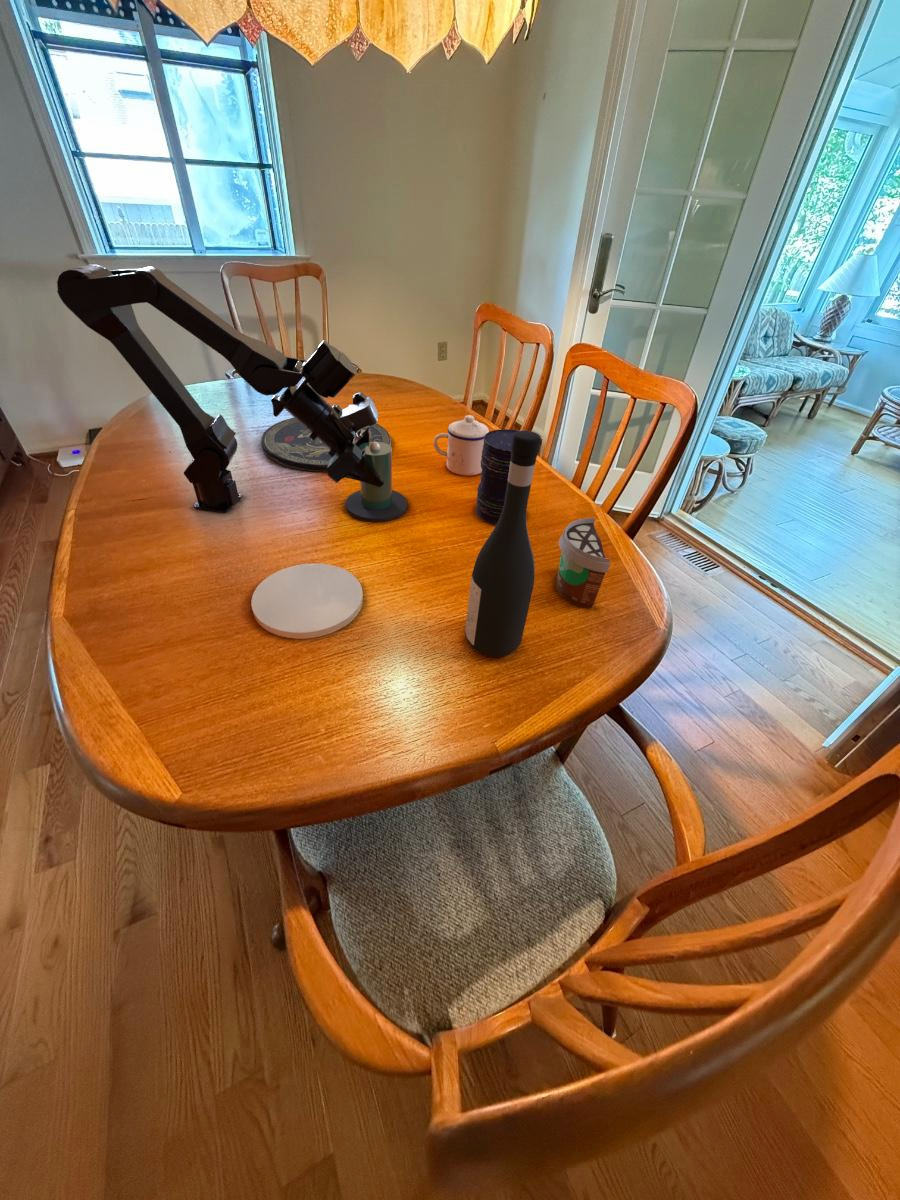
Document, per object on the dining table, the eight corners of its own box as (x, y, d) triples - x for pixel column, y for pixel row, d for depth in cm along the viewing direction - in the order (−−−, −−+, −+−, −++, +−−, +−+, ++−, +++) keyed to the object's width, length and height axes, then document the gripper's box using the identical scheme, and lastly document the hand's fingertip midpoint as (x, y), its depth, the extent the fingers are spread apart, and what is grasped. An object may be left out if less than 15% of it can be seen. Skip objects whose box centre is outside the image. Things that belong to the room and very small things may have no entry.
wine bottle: (456, 650, 68) (478, 440, 49) (474, 615, 74) (501, 415, 55) (512, 668, 67) (558, 457, 47) (526, 630, 72) (572, 429, 53)
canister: (373, 513, 93) (371, 452, 85) (355, 500, 96) (351, 440, 89) (398, 504, 96) (398, 444, 89) (379, 491, 100) (378, 433, 92)
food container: (544, 564, 86) (556, 513, 79) (580, 566, 86) (594, 516, 79) (554, 611, 76) (568, 558, 70) (593, 613, 76) (611, 561, 70)
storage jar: (478, 526, 94) (487, 450, 84) (472, 500, 101) (479, 428, 91) (530, 526, 95) (544, 451, 85) (519, 500, 102) (532, 429, 93)
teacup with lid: (486, 461, 116) (492, 411, 108) (483, 478, 109) (490, 426, 101) (435, 455, 116) (437, 405, 109) (430, 472, 109) (432, 420, 102)
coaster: (337, 517, 93) (336, 513, 92) (356, 487, 102) (356, 484, 101) (399, 526, 92) (399, 522, 91) (413, 495, 101) (413, 492, 100)
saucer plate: (232, 628, 69) (230, 622, 68) (280, 562, 81) (279, 556, 80) (343, 647, 68) (342, 640, 67) (375, 577, 80) (375, 571, 79)
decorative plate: (234, 452, 107) (294, 406, 129) (236, 460, 108) (295, 413, 130) (368, 474, 103) (405, 422, 126) (368, 482, 105) (405, 430, 127)
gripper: (341, 402, 75) (413, 472, 83) (354, 366, 89) (414, 429, 97) (295, 449, 79) (368, 512, 87) (314, 408, 93) (375, 465, 101)
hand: (383, 477), depth 93 cm, fingers closed on canister, 6 cm apart
